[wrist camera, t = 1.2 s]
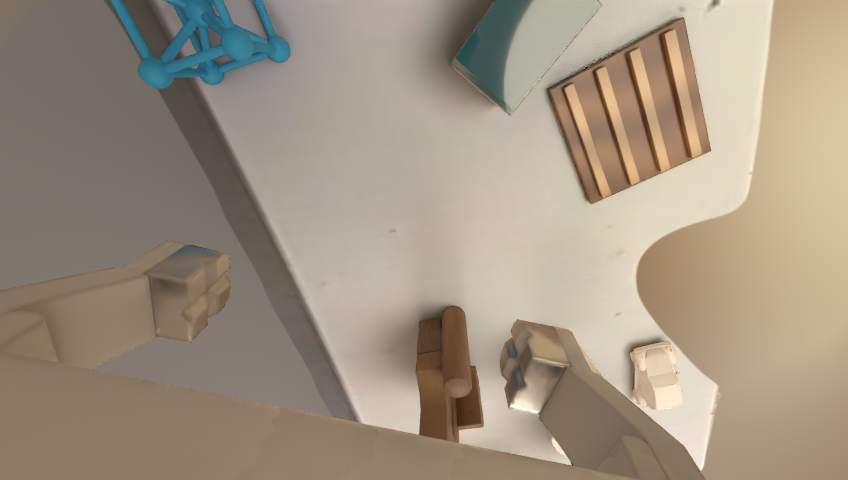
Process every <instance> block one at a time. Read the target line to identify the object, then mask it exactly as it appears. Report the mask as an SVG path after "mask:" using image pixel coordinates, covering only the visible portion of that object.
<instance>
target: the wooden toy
mask: <svg viewBox="0 0 848 480" xmlns="http://www.w3.org/2000/svg"><path fill="white" fill-rule="evenodd" d="M442 317H443V324H442V321H441V319H440V318H438V319H432V320H426V321H421V322H420V323H419V334H418V346H417V360H416V375H417V380H418V386H419V392H420V407H421V415H420V431H419V435H422V436H426V437H431V438H436V439H441V440H446V441H451V442H456V443H459V429H460V430H462V429H472V428H479V427H483V426H484V422H483V412H482V404H481V396H480V388H479V380H478V376H477V372H476V368H475V367H470V359H469V349H468V339H467V329H466V319H465V313H464V311H463V310H462V309H460V308H458V307H449V308H447V309H446V310H445V311H444V313H443V315H442Z"/></svg>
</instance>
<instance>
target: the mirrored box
mask: <svg viewBox="0 0 848 480" xmlns="http://www.w3.org/2000/svg"><path fill="white" fill-rule="evenodd" d="M601 6H602V4H601V3H600V2H599V1H598V0H494V1H493V3H492V4H491V6H490V7H489V9H488V10H487V11H486V13H485V14H484V16H483V17H482V18H481V20H480V21H479V23H478V24H477V26H476V27H475V28H474V30H473V31H472V33H471V34H470V35H469V37H468V38H467V40H466V41H465V42H464V44H463V45H462V47H461V48H460V50H459V51H458V52H457V54H456V55H455V57H454V58H453V59H452V61H451V62H450V64H449V66H450V67H452V68H453V69H454V70H455V71H456V72H457V73H458V74H460V75H461V76H462V77H463V78H464V79H465V80H467V81H468V82H469V83H470V84H471V85H472V86H473V87H475V88H476V89H477V90H478V91H479V92H480V93H482V94H483V95H484V96H485V97H486V98H487V99H488V100H490V101H491V102H492V103H493V104H494V105H495V106H497V107H498V108H500V109H501V110H503V111H504V112H506V113H507V114H509V115H511V114H512V113H513V112H514V110H515V109H516V108H517V107H518V106H519V104H520V103H521V102H522V101H523V100H524V98H525V97H526V96H527V95H528V94H529V92H530V91H531V90H532V89H533V88H534V86H535V85H536V84H537V83H538V82H539V80H540V79H541V78H542V77H543V76H544V74H545V73H546V72H547V71H548V70H549V68H550V67H551V66H552V65H553V63H554V62H555V61H556V60H557V59H558V57H559V56H560V55H561V54H562V53H563V51H564V50H565V49H566V48H567V47H568V45H569V44H570V43H571V42H572V41H573V39H574V38H575V37H576V36H577V35H578V33H579V32H580V31H581V30H582V29H583V27H584V26H585V25H586V24H587V23H588V21H589V20H590V19H591V18H592V17H593V15H594V14H595V13H596V12H597V10H598V9H599V8H600V7H601Z"/></svg>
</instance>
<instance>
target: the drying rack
mask: <svg viewBox="0 0 848 480" xmlns="http://www.w3.org/2000/svg"><path fill="white" fill-rule="evenodd" d="M548 93H549V95H550V98H551V101H552V104H553V106H554V109H555V112H556V114H557V117H558V120H559V122H560V125H561V128H562V131H563V133H564V136H565V139H566V141H567V144H568V147H569V149H570V152H571V155H572V158H573V160H574V163H575V166H576V168H577V171H578V174H579V177H580V179H581V182H582V185H583V187H584V190H585V193H586V195H587V198H588V201H589V202H590V203H591V204H593V203H595V202H597V201H600V200H602V199H604V198H606V197H609V196H611V195H613V194H615V193H618V192H620V191H622V190H624V189H627V188H629V187H631V186H633V185H636V184H638V183H640V182H642V181H645V180H647V179H649V178H651V177H654V176H656V175H658V174H660V173H663V172H665V171H667V170H669V169H672V168H674V167H676V166H678V165H680V164H683V163H685V162H687V161H689V160H692V159H694V158H696V157H698V156H701V155H703V154H705V153H707V152H710V151H711V148H710V143H709V139H708V134H707V129H706V124H705V119H704V114H703V109H702V104H701V99H700V94H699V89H698V85H697V80H696V75H695V70H694V65H693V60H692V55H691V50H690V45H689V40H688V35H687V30H686V26H685V21H684V18H678V19H677V20H675V21H673V22H671V23H669V24H667V25H666V26H664V27H662V28H660V29H658V30H656V31H655V32H653V33H651V34H649V35H647V36H645V37H643V38H642V39H640V40H638V41H636V42H634V43H632V44H631V45H629V46H627V47H625V48H623V49H621V50H620V51H618V52H616V53H614V54H612V55H610V56H609V57H607V58H605V59H603V60H601V61H599V62H597V63H596V64H594V65H592V66H590V67H588V68H586V69H585V70H583V71H581V72H579V73H577V74H575V75H574V76H572V77H570V78H568V79H566V80H564V81H563V82H561V83H559V84H557V85H555V86H553V87H551V88H550V89H548Z"/></svg>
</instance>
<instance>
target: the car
mask: <svg viewBox="0 0 848 480" xmlns="http://www.w3.org/2000/svg"><path fill="white" fill-rule="evenodd" d="M671 345H672V344H671V343H670V342H669V341H667V342H661V343H655V344H651V345H646V346H642V347H639V348H635V349H633V351H632V352H630V356H631V359H632V361H633V363H634V364H635V387H634V389H633V394H634V397H635V399H636V401H637V404H638V405H639V406H643V407H648V406H649V407H650V409H652V410H655V411H659V410H667V409H670V408H673V407H679V406H681V403H682V391H681V388H680V384H679V382H678V379H677V377H676V375H677V374H679V372H678V373H677V372H675V371H674V366H673V364H675V363H676V356H675V352H674V350H673V348H672V346H671ZM675 373H676V374H675Z"/></svg>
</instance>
